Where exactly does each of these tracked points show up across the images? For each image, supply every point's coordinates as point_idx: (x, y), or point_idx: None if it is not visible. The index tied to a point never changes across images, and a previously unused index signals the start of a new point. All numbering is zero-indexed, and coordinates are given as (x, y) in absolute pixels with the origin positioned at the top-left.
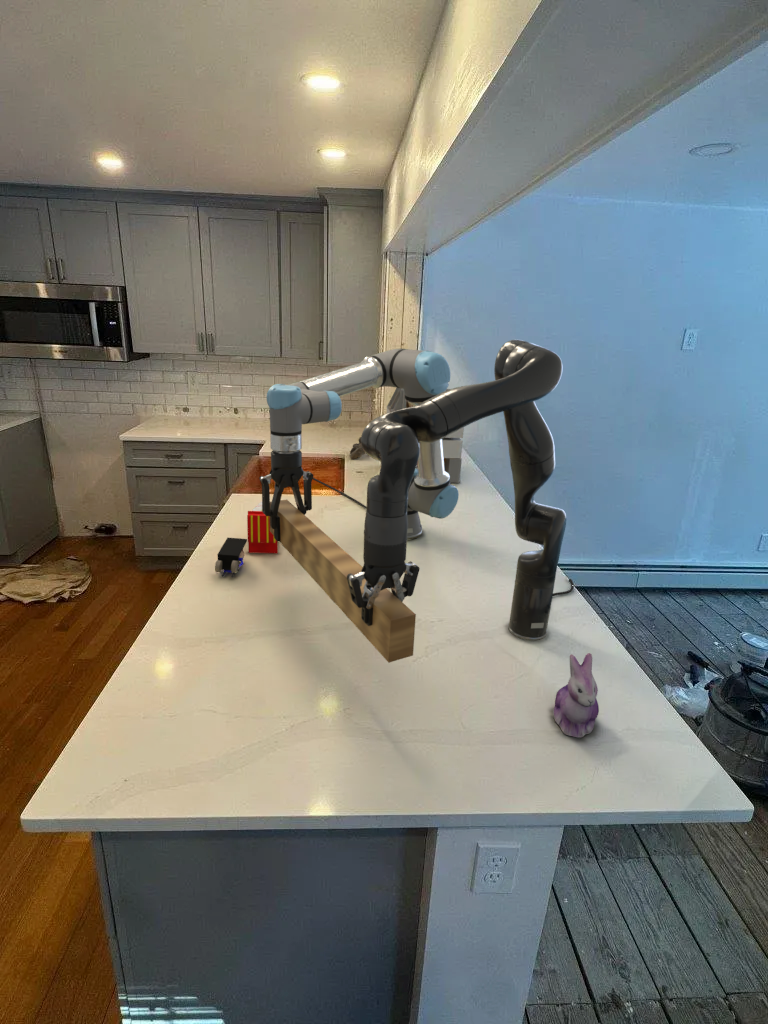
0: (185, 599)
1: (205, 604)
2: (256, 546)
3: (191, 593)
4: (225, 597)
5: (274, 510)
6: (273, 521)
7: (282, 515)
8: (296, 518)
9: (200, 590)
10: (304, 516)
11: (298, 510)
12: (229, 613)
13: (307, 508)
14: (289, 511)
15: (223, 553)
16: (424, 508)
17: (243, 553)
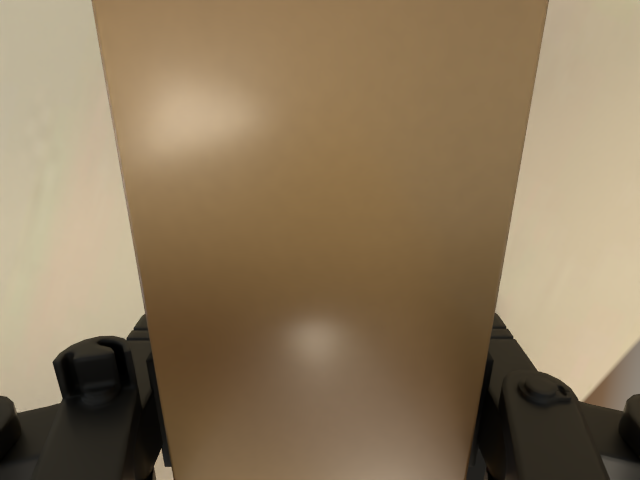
0: (633, 292)
1: (595, 235)
2: None
3: (599, 321)
4: (518, 255)
5: (581, 454)
6: (504, 352)
7: (497, 292)
8: (337, 5)
9: (566, 329)
10: (133, 59)
11: (170, 389)
12: (556, 141)
13: (8, 423)
14: (324, 396)
15: (483, 458)
16: None
17: None
